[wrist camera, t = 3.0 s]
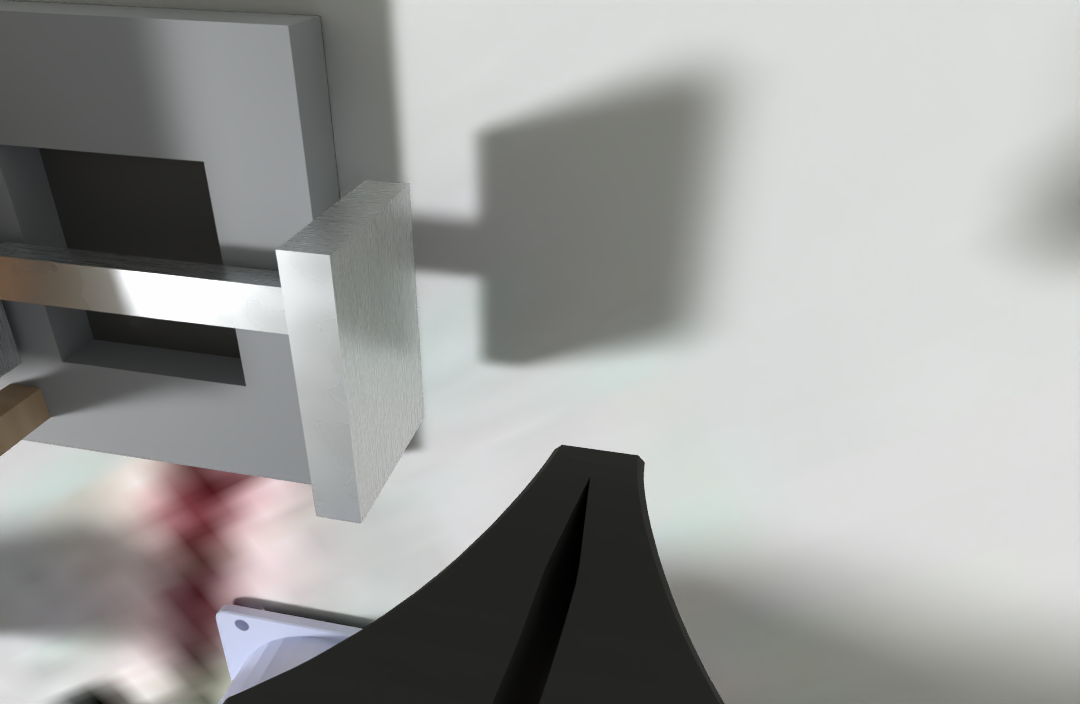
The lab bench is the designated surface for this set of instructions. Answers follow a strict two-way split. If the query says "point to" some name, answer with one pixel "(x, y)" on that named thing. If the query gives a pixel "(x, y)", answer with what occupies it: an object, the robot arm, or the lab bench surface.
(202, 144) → the deck
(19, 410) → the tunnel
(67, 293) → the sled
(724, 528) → the lab bench surface
